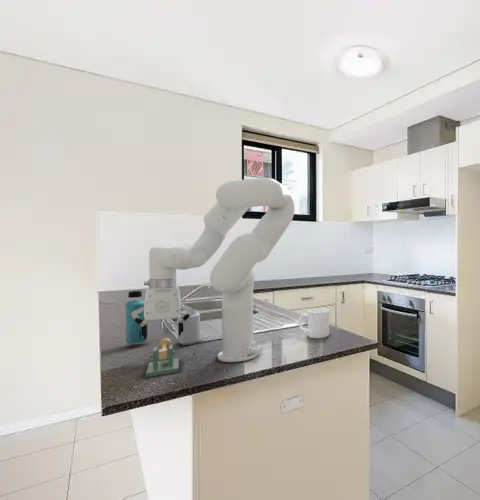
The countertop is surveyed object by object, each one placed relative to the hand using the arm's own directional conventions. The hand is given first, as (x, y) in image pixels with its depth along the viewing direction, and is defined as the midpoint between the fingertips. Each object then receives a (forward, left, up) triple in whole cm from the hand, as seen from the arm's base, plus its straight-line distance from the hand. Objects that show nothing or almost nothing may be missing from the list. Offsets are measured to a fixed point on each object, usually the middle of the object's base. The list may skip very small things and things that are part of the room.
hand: (163, 336), depth 116 cm
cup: (-36, -37, -7) cm, 52 cm away
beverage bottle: (+21, -8, -7) cm, 23 cm away
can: (+5, -16, -7) cm, 18 cm away
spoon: (-5, +4, -4) cm, 7 cm away
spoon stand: (-9, +8, -7) cm, 14 cm away
